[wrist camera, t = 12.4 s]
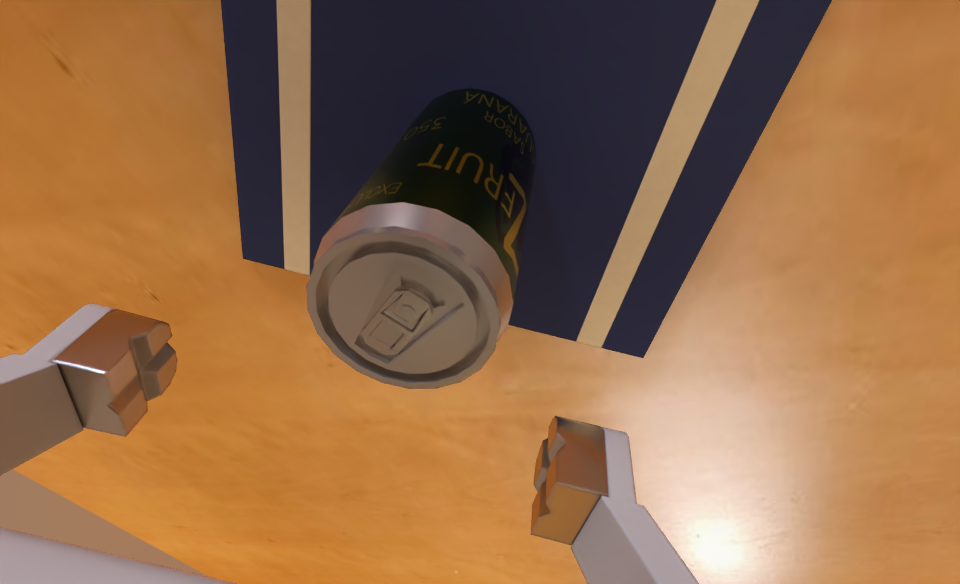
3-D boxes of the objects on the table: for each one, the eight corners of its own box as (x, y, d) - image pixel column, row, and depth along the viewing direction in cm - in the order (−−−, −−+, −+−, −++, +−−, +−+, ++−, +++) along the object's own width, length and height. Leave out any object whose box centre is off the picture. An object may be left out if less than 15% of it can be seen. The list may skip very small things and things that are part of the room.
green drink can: (487, 226, 25) (432, 422, 15) (392, 157, 24) (265, 323, 14) (563, 138, 22) (555, 312, 12) (459, 54, 21) (358, 174, 11)
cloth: (246, 254, 29) (242, 259, 28) (211, -183, 18) (203, -186, 18) (642, 353, 29) (643, 359, 28) (841, -28, 18) (847, -27, 18)
